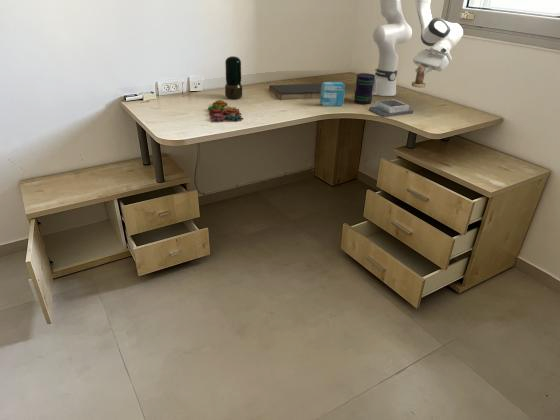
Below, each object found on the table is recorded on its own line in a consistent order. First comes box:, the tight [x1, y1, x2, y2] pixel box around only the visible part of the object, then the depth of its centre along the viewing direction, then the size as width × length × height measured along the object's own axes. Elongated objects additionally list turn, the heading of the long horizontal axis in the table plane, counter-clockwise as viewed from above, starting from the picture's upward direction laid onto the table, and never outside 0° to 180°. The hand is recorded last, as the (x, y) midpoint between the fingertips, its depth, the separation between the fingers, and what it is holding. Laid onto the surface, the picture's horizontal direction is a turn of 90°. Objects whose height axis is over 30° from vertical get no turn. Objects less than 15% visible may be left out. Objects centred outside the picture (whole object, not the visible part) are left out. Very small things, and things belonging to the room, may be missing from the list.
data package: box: [319, 81, 346, 107], centre depth 231 cm, size 12×4×12 cm, turn 98°
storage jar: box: [353, 72, 375, 106], centre depth 237 cm, size 10×10×15 cm
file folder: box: [268, 82, 323, 101], centre depth 252 cm, size 33×4×24 cm
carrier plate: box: [368, 98, 414, 118], centre depth 226 cm, size 13×19×4 cm
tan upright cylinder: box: [411, 66, 427, 89], centre depth 225 cm, size 7×7×10 cm
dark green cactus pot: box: [224, 55, 243, 100], centre depth 234 cm, size 10×10×22 cm
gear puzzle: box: [207, 99, 244, 123], centre depth 215 cm, size 31×16×4 cm, turn 12°
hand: (419, 72), depth 223 cm, fingers closed on tan upright cylinder, 4 cm apart
